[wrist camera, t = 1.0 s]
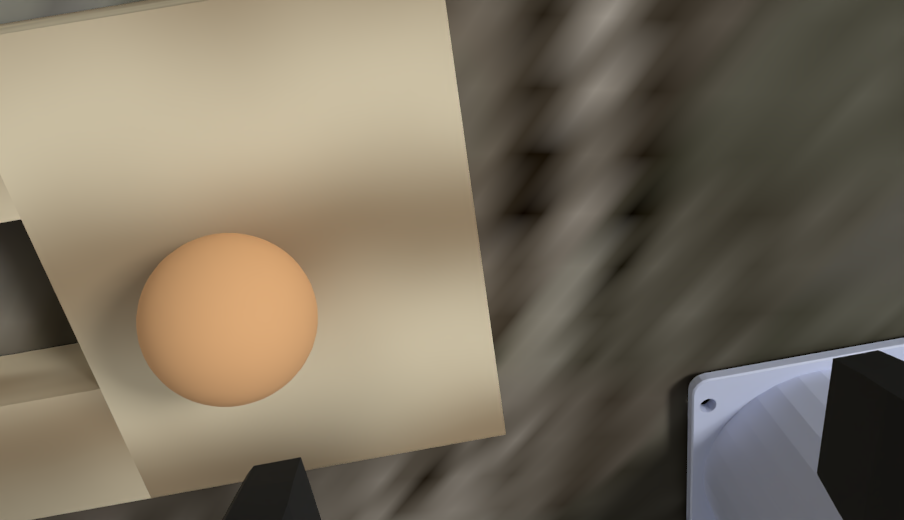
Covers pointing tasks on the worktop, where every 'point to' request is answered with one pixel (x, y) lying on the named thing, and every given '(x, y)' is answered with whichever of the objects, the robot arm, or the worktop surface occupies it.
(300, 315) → the ball
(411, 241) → the board
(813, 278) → the worktop surface
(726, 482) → the robot arm
